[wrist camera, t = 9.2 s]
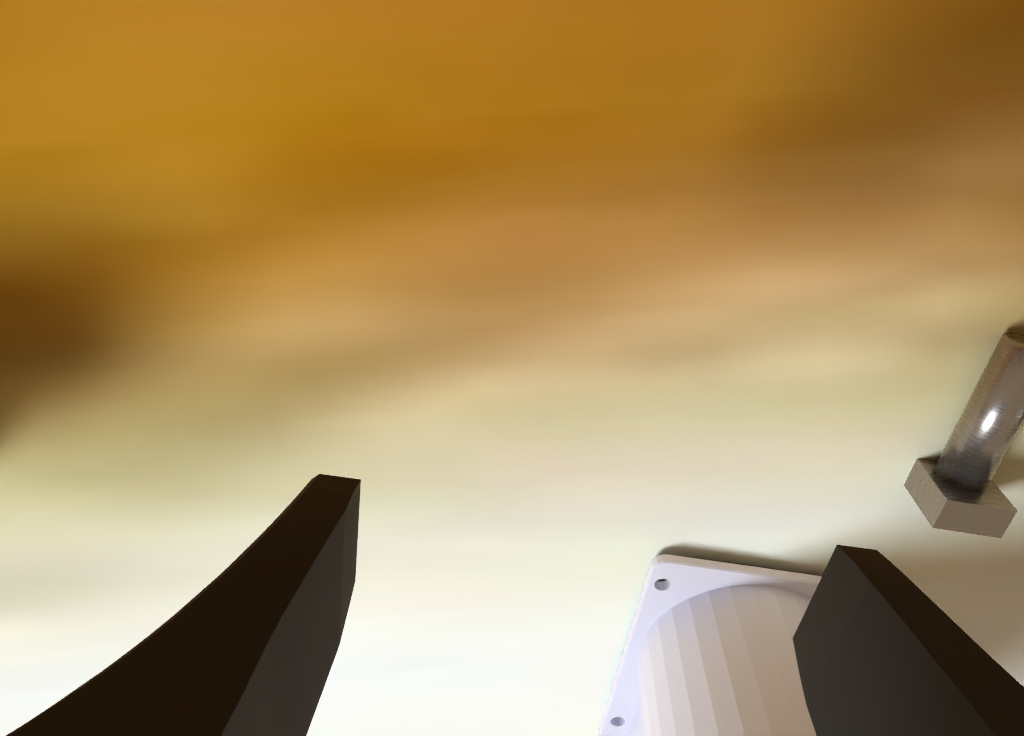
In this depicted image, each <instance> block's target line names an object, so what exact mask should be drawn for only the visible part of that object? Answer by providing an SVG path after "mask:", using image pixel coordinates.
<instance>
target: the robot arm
mask: <svg viewBox="0 0 1024 736" xmlns="http://www.w3.org/2000/svg"><path fill="white" fill-rule="evenodd" d="M360 483H361V480H360V479H352V478H345V477H338V476H330V475H323V474H319V475H317V476H316V477H314V478H313V479H311V481H310V482H309V483H308V484H307V485H306V486H305V488H304V489H303V490H302V491H301V492H300V493H299V494H298V496H297V497H296V498H295V499H294V500H293V501H292V502H291V503H290V505H289V506H288V507H287V508H286V509H285V510H284V511H283V512H282V513H281V514H280V515H279V517H278V518H277V519H276V520H275V521H274V522H273V523H272V524H271V525H270V526H269V527H268V528H267V529H266V530H265V531H264V532H263V533H262V534H261V535H260V536H259V537H258V538H257V539H256V540H255V541H254V542H253V543H252V544H251V545H250V546H249V547H248V548H247V549H246V550H245V551H244V552H243V553H242V554H241V555H240V556H239V557H238V558H237V559H236V560H235V561H234V562H233V563H232V564H231V565H230V566H229V567H228V568H227V569H226V570H224V571H223V572H222V573H221V574H220V575H219V576H218V577H217V578H216V579H215V580H214V581H212V582H211V583H210V584H209V585H208V586H207V587H206V588H204V589H203V590H202V591H201V592H200V593H199V594H198V595H197V596H195V597H194V598H193V599H192V600H191V601H190V602H189V603H187V604H186V605H185V606H184V607H183V608H182V609H181V610H180V611H178V612H177V613H176V614H175V615H174V616H173V617H171V618H170V619H169V620H168V621H166V622H165V623H164V624H163V625H162V626H160V627H159V628H158V629H157V630H155V631H154V632H153V633H152V634H150V635H149V636H148V637H147V638H145V639H144V640H143V641H142V642H140V643H139V644H138V645H136V646H135V647H134V648H133V649H131V650H130V651H129V652H127V653H126V654H125V655H123V656H122V657H121V658H119V659H118V660H117V661H115V662H114V663H113V664H111V665H110V666H109V667H107V668H106V669H105V670H103V671H102V672H100V673H99V674H97V675H96V676H95V677H93V678H92V679H90V680H89V681H87V682H86V683H85V684H83V685H82V686H80V687H79V688H77V689H76V690H74V691H73V692H72V693H70V694H69V695H67V696H66V697H64V698H63V699H61V700H60V701H59V702H57V703H56V704H54V705H53V706H51V707H50V708H48V709H47V710H45V711H44V712H42V713H41V714H39V715H38V716H36V717H35V718H33V719H32V720H30V721H29V722H27V723H25V724H24V725H22V726H21V727H19V728H18V729H16V730H14V731H13V732H11V733H10V734H8V735H6V736H306V734H307V732H308V729H309V726H310V724H311V721H312V718H313V715H314V713H315V710H316V707H317V705H318V702H319V699H320V697H321V694H322V691H323V688H324V686H325V683H326V680H327V677H328V675H329V672H330V669H331V666H332V664H333V661H334V658H335V655H336V652H337V650H338V647H339V644H340V640H341V636H342V632H343V628H344V624H345V620H346V616H347V612H348V608H349V604H350V600H351V596H352V592H353V587H354V583H355V574H356V556H357V538H358V519H359V501H360ZM659 579H667V580H665V581H663V582H658V581H657V580H659ZM599 736H1024V687H1023V686H1022V685H1021V684H1020V683H1019V682H1017V681H1016V680H1015V679H1014V678H1013V677H1012V676H1011V675H1010V674H1009V673H1008V672H1007V671H1005V670H1004V669H1003V668H1002V667H1001V666H1000V665H999V664H998V663H997V662H996V661H995V660H994V659H992V658H991V657H990V656H989V655H988V654H987V653H986V652H985V651H984V650H983V649H982V648H981V647H980V646H979V645H978V644H976V643H975V642H974V641H973V640H972V639H971V638H970V637H969V636H968V635H967V634H966V633H965V632H964V631H963V630H962V629H961V628H960V627H959V626H958V625H957V624H955V623H954V622H953V621H952V620H951V619H950V618H949V617H948V616H947V615H946V614H945V613H944V612H943V611H942V610H941V609H940V608H939V607H938V606H937V605H936V604H935V603H934V602H933V601H931V600H930V599H929V598H928V597H927V596H926V595H925V594H924V593H923V592H922V591H921V590H920V589H919V588H918V587H917V586H916V585H915V584H914V583H913V582H912V581H910V580H909V579H908V578H907V577H906V576H905V575H904V574H903V573H902V572H901V571H900V570H899V569H898V568H896V567H895V566H894V565H893V564H892V563H891V562H890V561H889V560H887V559H886V558H885V557H884V556H883V555H882V554H880V553H879V552H878V551H877V550H872V549H864V548H857V547H850V546H842V545H837V546H836V548H835V550H834V552H833V554H832V557H831V559H830V561H829V563H828V565H827V567H826V569H825V571H824V573H823V575H822V576H816V575H809V574H802V573H795V572H788V571H781V570H774V569H767V568H760V567H753V566H746V565H739V564H732V563H725V562H718V561H711V560H704V559H697V558H690V557H683V556H676V555H669V554H665V555H659V556H656V557H655V558H654V559H652V561H651V562H650V564H649V568H648V571H647V574H646V577H645V581H644V584H643V587H642V590H641V594H640V597H639V600H638V603H637V606H636V610H635V613H634V616H633V619H632V623H631V626H630V629H629V632H628V635H627V639H626V642H625V645H624V648H623V652H622V655H621V658H620V661H619V664H618V668H617V671H616V674H615V677H614V681H613V684H612V687H611V690H610V693H609V697H608V700H607V703H606V706H605V710H604V713H603V716H602V719H601V723H600V726H599Z"/></svg>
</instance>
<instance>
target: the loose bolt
mask: <svg viewBox="0 0 1024 736" xmlns="http://www.w3.org/2000/svg"><path fill="white" fill-rule="evenodd" d="M1023 422H1024V335H1021V334H1015V333H1006V334H1003V335H1002V337H1001V339H1000V341H999V343H998V345H997V347H996V349H995V350H994V352H993V354H992V356H991V358H990V360H989V362H988V364H987V366H986V368H985V370H984V372H983V374H982V376H981V378H980V380H979V382H978V384H977V386H976V388H975V390H974V391H973V393H972V395H971V397H970V399H969V401H968V403H967V405H966V407H965V409H964V411H963V413H962V415H961V417H960V419H959V421H958V423H957V425H956V427H955V429H954V431H953V433H952V434H951V436H950V438H949V440H948V442H947V444H946V446H945V448H944V450H943V452H942V454H941V456H940V458H939V460H938V462H936V461H929V460H923V459H917V460H916V462H915V464H914V466H913V468H912V470H911V472H910V474H909V476H908V478H907V480H906V482H905V484H904V486H905V487H906V489H907V490H908V492H909V493H910V495H911V496H912V498H913V499H914V501H915V502H916V504H917V505H918V507H919V508H920V510H921V511H922V513H923V514H924V516H925V517H926V518H927V520H928V521H929V523H930V524H931V526H932V527H933V528H938V529H945V530H952V531H958V532H965V533H972V534H978V535H985V536H992V537H998V538H1001V537H1002V536H1003V534H1004V532H1005V531H1006V529H1007V527H1008V526H1009V524H1010V522H1011V521H1012V519H1013V517H1014V516H1015V514H1016V512H1017V510H1016V508H1015V507H1014V506H1013V505H1012V504H1011V503H1010V501H1009V500H1008V499H1007V498H1006V497H1005V495H1004V494H1003V493H1002V492H1001V491H1000V490H999V488H998V487H997V486H996V485H995V484H994V482H993V481H992V480H991V479H992V478H993V476H994V474H995V472H996V470H997V469H998V467H999V465H1000V463H1001V461H1002V460H1003V458H1004V456H1005V454H1006V453H1007V451H1008V449H1009V447H1010V445H1011V444H1012V442H1013V440H1014V438H1015V437H1016V435H1017V433H1018V431H1019V429H1020V428H1021V426H1022V424H1023Z"/></svg>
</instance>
